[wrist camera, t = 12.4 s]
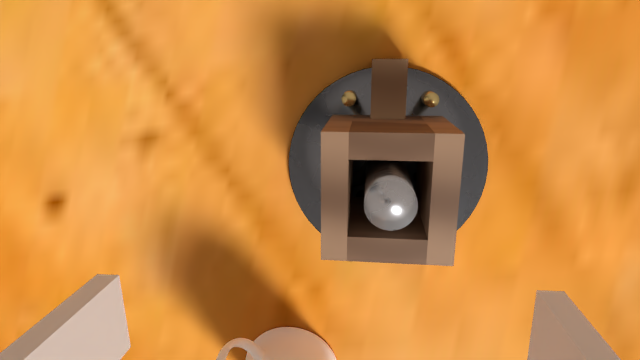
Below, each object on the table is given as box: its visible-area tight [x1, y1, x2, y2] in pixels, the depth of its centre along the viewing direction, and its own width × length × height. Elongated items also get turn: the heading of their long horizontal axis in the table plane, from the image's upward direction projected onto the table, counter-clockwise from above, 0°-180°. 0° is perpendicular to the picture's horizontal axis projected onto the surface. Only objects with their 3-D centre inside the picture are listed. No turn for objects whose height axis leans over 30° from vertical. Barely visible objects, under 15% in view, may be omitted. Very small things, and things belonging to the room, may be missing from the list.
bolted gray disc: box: [289, 68, 488, 233], centre depth 29 cm, size 15×15×9 cm
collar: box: [321, 59, 465, 266], centre depth 29 cm, size 12×8×8 cm, turn 0°
